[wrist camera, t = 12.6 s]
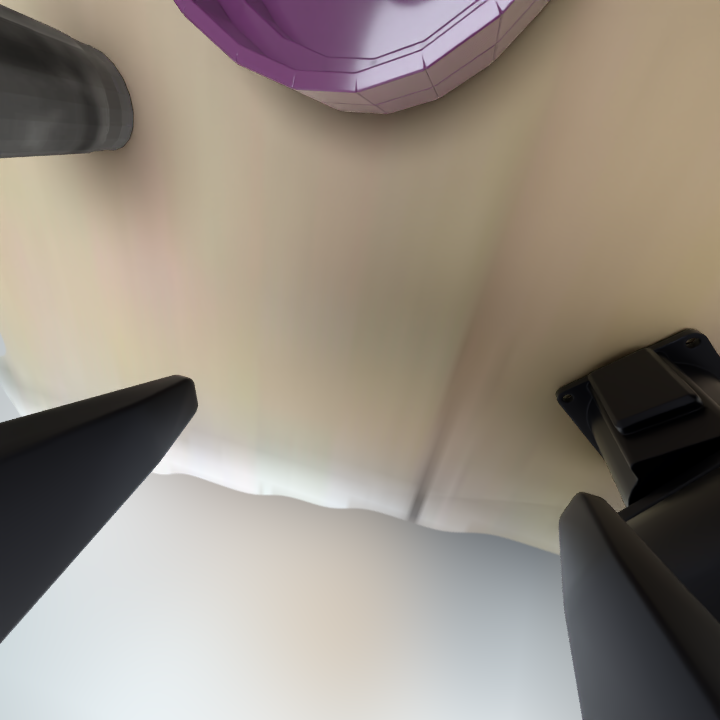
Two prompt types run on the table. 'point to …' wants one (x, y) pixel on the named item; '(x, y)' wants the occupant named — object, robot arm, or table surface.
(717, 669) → the robot arm
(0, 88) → the beverage cup
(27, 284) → the table surface
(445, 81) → the plum bowl
